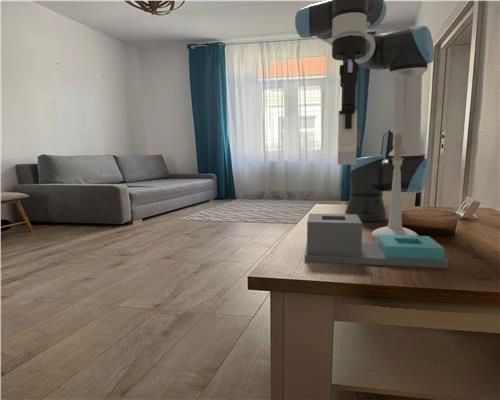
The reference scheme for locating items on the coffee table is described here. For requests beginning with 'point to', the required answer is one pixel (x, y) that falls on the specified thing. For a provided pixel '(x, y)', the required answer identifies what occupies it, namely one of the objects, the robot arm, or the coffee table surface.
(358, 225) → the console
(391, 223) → the candlestick
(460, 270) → the coffee table surface
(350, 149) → the plug
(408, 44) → the robot arm
